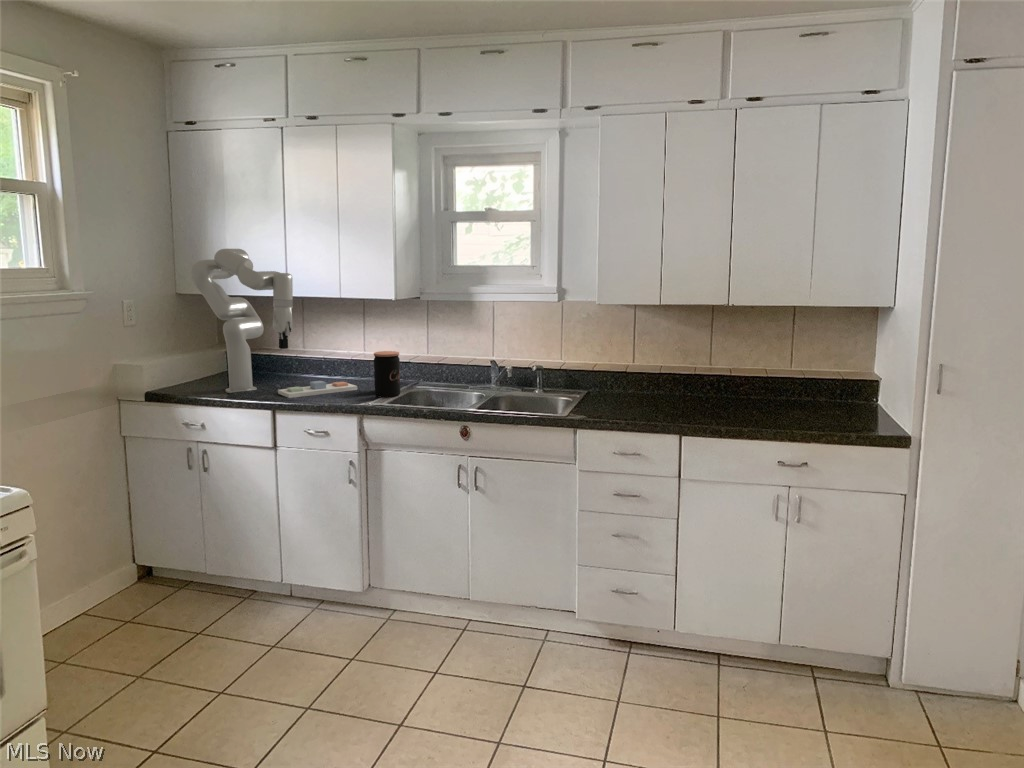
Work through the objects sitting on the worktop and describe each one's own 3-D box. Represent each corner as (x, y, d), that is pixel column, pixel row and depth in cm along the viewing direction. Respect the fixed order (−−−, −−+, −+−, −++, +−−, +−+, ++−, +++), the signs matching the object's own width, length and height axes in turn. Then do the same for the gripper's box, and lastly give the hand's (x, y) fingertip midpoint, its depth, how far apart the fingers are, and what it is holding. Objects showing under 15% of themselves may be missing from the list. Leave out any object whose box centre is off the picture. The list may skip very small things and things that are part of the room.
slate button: (310, 391, 319) (309, 381, 319) (321, 389, 322) (321, 380, 322) (315, 393, 316) (314, 383, 315) (326, 391, 319) (325, 382, 318)
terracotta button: (332, 391, 326) (332, 382, 325) (343, 390, 329) (343, 381, 328) (337, 393, 322) (337, 384, 321) (348, 392, 325) (348, 383, 324)
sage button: (287, 397, 314) (286, 387, 313) (298, 395, 317) (298, 386, 316) (291, 399, 310) (291, 389, 309) (303, 397, 313) (303, 388, 312)
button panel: (278, 396, 315) (277, 389, 314) (345, 388, 333) (344, 382, 332) (289, 401, 306) (288, 394, 305) (357, 393, 324) (357, 386, 323)
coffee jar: (393, 398, 312) (391, 354, 309) (370, 396, 316) (368, 353, 313) (404, 393, 322) (403, 351, 319) (382, 392, 326) (381, 350, 322)
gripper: (267, 302, 311) (267, 346, 315) (280, 306, 300) (281, 351, 304) (285, 301, 316) (285, 345, 320) (299, 305, 304) (299, 350, 308)
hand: (283, 348), depth 312 cm, fingers closed
